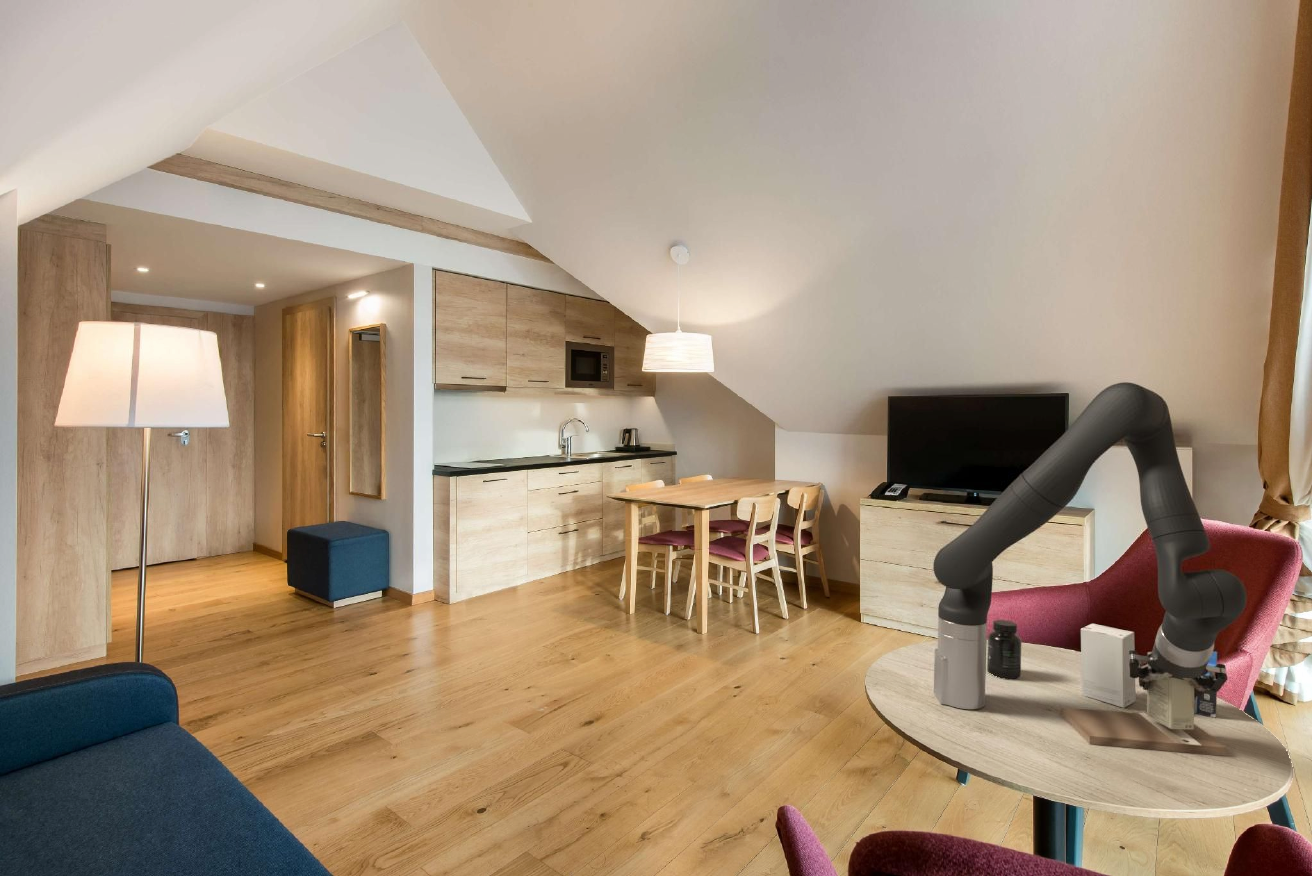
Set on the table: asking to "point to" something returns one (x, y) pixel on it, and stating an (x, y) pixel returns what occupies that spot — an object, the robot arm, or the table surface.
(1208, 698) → the label tape cartridge
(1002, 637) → the supplement bottle
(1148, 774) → the table surface
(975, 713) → the table surface
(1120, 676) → the skincare box
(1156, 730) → the subfloor panel
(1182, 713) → the skincare box
